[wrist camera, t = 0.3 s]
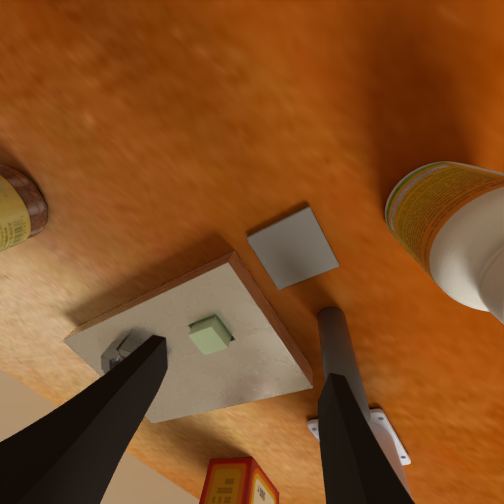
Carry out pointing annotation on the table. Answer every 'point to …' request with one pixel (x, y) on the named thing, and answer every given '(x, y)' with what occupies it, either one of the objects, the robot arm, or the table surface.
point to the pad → (210, 335)
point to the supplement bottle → (454, 229)
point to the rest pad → (293, 249)
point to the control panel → (188, 354)
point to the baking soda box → (237, 483)
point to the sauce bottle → (19, 208)
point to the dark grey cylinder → (340, 353)
